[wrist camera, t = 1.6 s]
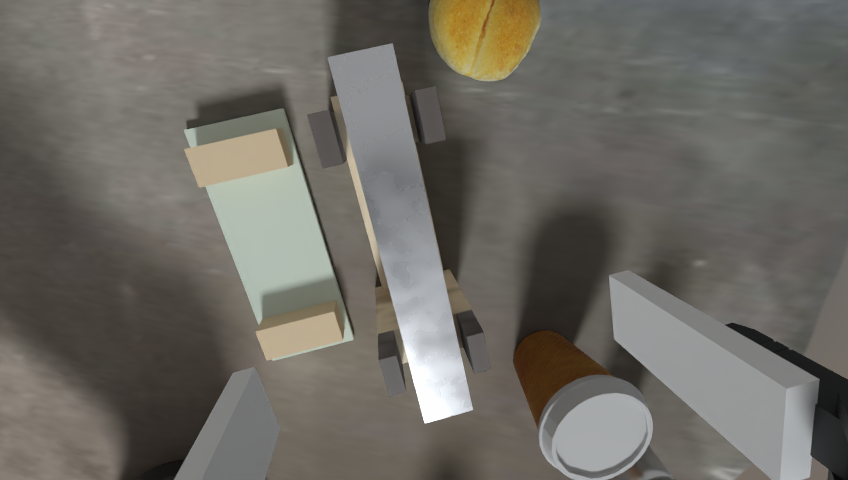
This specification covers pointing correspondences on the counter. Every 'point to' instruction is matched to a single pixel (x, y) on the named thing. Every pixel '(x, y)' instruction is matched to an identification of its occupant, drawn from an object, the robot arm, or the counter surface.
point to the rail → (402, 224)
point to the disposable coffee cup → (581, 409)
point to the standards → (335, 152)
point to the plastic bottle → (646, 469)
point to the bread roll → (483, 34)
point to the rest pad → (271, 231)
